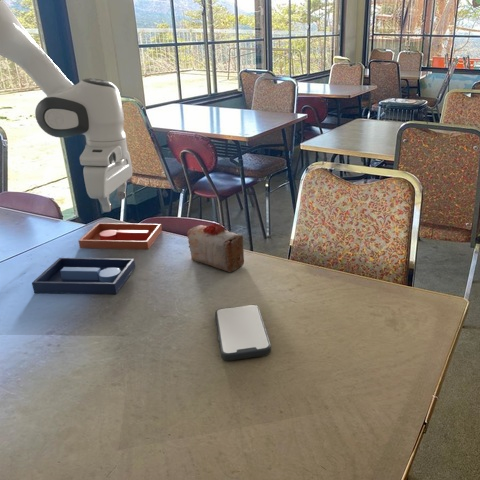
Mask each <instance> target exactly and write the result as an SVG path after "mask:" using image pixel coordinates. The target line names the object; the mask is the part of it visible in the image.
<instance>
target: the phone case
mask: <svg viewBox="0 0 480 480" xmlns="http://www.w3.org/2000/svg"><path fill="white" fill-rule="evenodd" d="M214 316H215V323H216V330H217V342H218V345H219V350H220V357H221V359H222V360H223V361H227V362H229V361H235V360H236V361H237V360H243V359H249V358H257V357H265V356H267V355H269V354H271V352H272V344H271V342H270V337H269V334H268V331H267V329H266V325H265V322H264V320H263V316H262V313H261V310H260V307H259V306H258V305H257V304H247V305H239V306H230V307H229V306H228V307H222V308H218V309H216V310H215V312H214Z"/></svg>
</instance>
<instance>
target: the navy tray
mask: <svg viewBox="0 0 480 480" xmlns="http://www.w3.org/2000/svg"><path fill="white" fill-rule="evenodd" d="M64 267H85V268H100V270H103V269H106V268H118V269H120V270H121V273H120V274H119V276H118V277H117V278H116V279H115V281H114V282H113V283H102V282H100V281H99V280H63V279H62V277H61V272H60V271H61V270H62V269H63V268H64ZM134 269H136V263H135V258H106V257H105V258H103V257H59V258H57V259H56V260H55V261H54V262H53V263H52V264H51V265H50V266H49V267H48V268H46V269H45V270H44V271H43V272H42V273H41V274H40V275H38V276H37V277H36V278H35V279H34V280H33V281H32V282H31V286H32V290H33V293H34V294H67V295H68V294H71V295H72V294H73V295H75V294H77V295H117V294H118V293H119V292H120V290H121V289H122V287H123V286H124V284H125V283H126V282H127V281H128V279H129V278H130V276H131V273H132V272H133V271H134Z"/></svg>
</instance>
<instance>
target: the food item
mask: <svg viewBox="0 0 480 480" xmlns="http://www.w3.org/2000/svg"><path fill="white" fill-rule="evenodd" d="M187 239H188V240H187V241H188V248H189V252H190V258H191V259H190V260H191V261H192V262H197V263H201V264H203V265H208V266H210V267H214V268H216V269H219V270H222V271H224V272H228V273H232V272H234V271H236V270H237V269H239V268H242V267H243V266H244V264H245V255H244V254H245V251H244V236H243V234H238V233H235V232H232V231H229V230H227V229H225V228H224V226H223V222H222V221H221V222H220V223H219V224H217V223H215V222H214V223H212V224H209V225H203V224H200V225H196V226H193V227H192V228H190V229H189V230H187Z"/></svg>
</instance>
